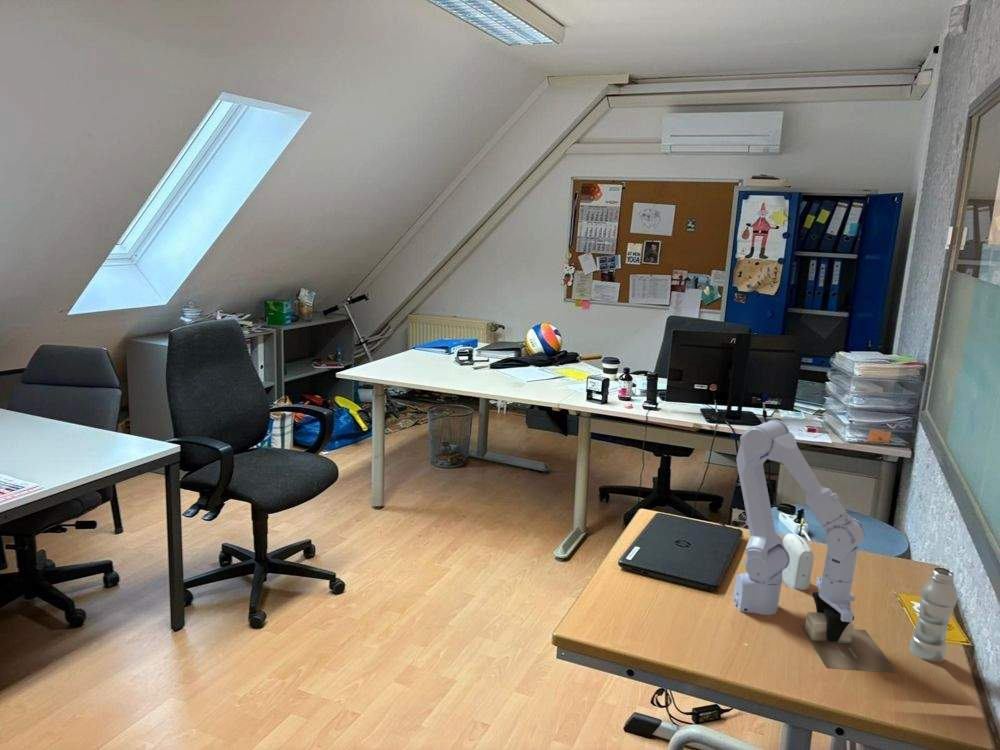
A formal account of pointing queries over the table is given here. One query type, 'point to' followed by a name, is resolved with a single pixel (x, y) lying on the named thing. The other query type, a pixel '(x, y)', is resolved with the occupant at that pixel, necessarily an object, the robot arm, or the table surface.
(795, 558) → the photo printer
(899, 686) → the table surface
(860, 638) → the grey flat square block
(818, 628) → the block
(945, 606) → the plastic bottle
